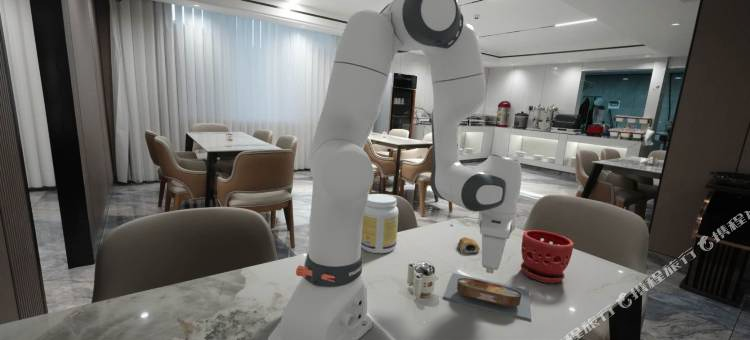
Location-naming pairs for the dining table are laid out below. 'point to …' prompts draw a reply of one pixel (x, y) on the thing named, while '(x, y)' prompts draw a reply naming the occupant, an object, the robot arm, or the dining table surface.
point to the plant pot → (545, 255)
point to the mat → (518, 311)
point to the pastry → (468, 245)
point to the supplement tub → (380, 224)
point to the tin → (489, 292)
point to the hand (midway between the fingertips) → (489, 270)
